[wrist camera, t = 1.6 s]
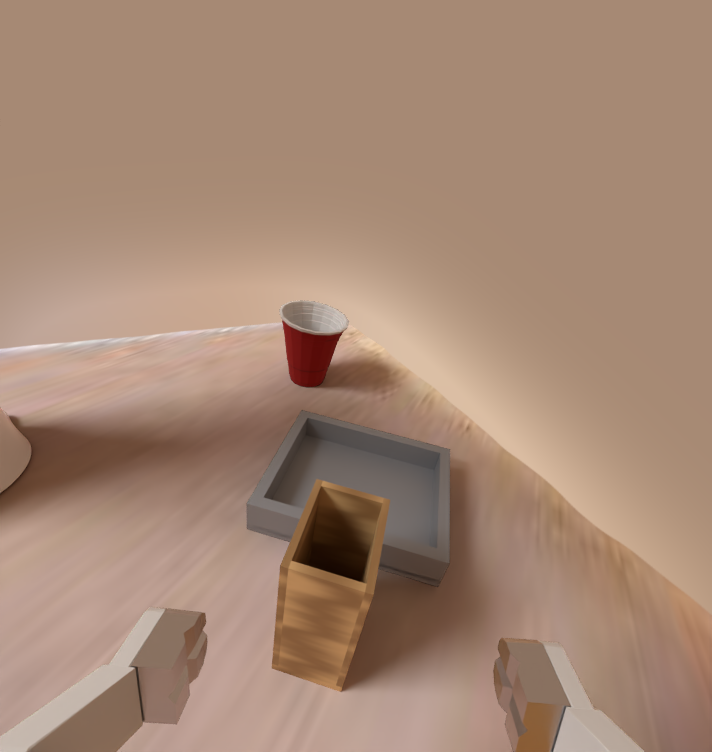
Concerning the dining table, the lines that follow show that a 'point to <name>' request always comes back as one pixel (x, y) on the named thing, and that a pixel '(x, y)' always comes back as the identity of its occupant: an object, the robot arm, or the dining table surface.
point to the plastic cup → (310, 339)
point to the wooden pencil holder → (328, 583)
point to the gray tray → (363, 489)
